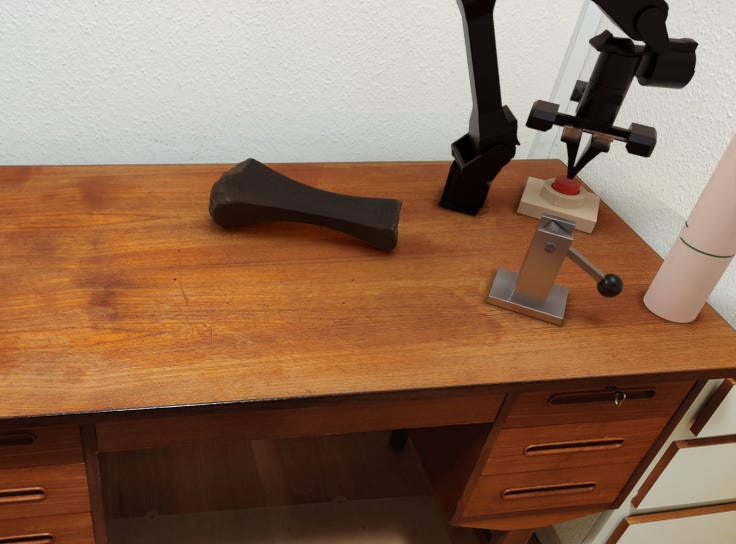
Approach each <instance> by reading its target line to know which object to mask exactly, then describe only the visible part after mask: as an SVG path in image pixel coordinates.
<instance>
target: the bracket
mask: <svg viewBox="0 0 736 544" xmlns="http://www.w3.org/2000/svg"><path fill="white" fill-rule="evenodd" d="M552 221H553V222H554V223H555V224H556V225H558V226H559V227H560V228H561V229H562V230H564V231H565V232H566V233H567V234H564V233H561V232H557V231H554V230H550V229H547V228H545V227H546V226H547V225H549V224H550V223H551V222H552ZM576 223H577V222H575V221H571V220H568V219H564V218H561V217H557V216H553V215H550V214H546V213H542V216H541V218H540V219H539V221H538V223H537V225H536V228H535V231H534V233H533V236H532V238H531V241H530V242H529V246H528V248H527V250H526V253H525V255H524V258H523V260H522V263H521V266H520V268H519V271H518V272H516V271H513V270H510V269H507V268H503V267H501V266H499V267H497V270H496V272H495V275H494V277H493V278H494V279H493V281H492V283H491V287H490V290H489V293H488V296H487V298H486V303H487V304H489V305H494V306H496V307H499V308H503V309H506V310H509V311H511V312H515V313H519V314H522V315H524V316H528V317H532V318H534V319H537V320H540V321H544V322H547V323H550V324H554V325H557V326H561V325H562V322H563V320H564V316H565V312H566V306H567V301H568V297H569V290H570V288H569V287H566V286H564V285H559V284H556V283H555V281H556V279H557V277H558V275H559V273H560V270H561V268H562V266H563V263H564V261H565V259H566V257H567V256H566V255H567V252H568V250H569V248H570V246H572V244H573V241H574V238H575V237H574V235H573V234H574V231H575V230H576V229H575V227H576Z"/></svg>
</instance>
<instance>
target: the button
mask: <svg viewBox="0 0 736 544" xmlns="http://www.w3.org/2000/svg"><path fill="white" fill-rule="evenodd" d="M555 178H556V179H555V182H554V184H553V187H552V188H553V189H554V190H555V191H557V192H559V193H561V194H565V195H572V196H575V195H577V193H578V191H579V188H580V186H582V182H581V180H580V179H578V178H576V177H574V178H573V179H572V180H571V179H567V174H559V175H557V176H556V177H555Z"/></svg>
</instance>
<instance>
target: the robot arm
mask: <svg viewBox="0 0 736 544" xmlns="http://www.w3.org/2000/svg"><path fill="white" fill-rule="evenodd" d="M590 1H591V2H593V3H594V4H595V5H596V7H597V8H598V10H600V11H601V13H602V14H603V15H604V16H605V17H606V18H607V19H608V20H609V21H610V23H612V24H613V25H614V26H615V27H616V28H617V29H618V30H620V31H622V33H623V34H625V35H626V36H627V37H622V36H614V33H612V32H611V31H610V30H609V29H604V30H603V31H602V32H600V33H599V34H597V35H595V36H593V37H591V38H590V39H589V40H588V44H589V45H590V46H591V47H592V48H593V49H595V51H596V52H599V54H598V56H597V60H596V61H595V64H594V67H593V68H592V71H591V74H590V76H589V79H588V81H585V80H580V79H577V80H576V82H575V84H574V87H573V89H572V92H571V94H570V97H569V101H571V102H574V103H577V105H576V108H575V112H574V113H575V114H574V115H571V114H568V113H563V112H560V111H559V110H560V107H561V104H559V103H555V102H550V101H547V100H542V99H537V100H535V101H534V102H533V103H532V106H531V109H530V111H529V114H528V117H527V119H526V122H525V125H524V126H525V127H527V128H528V129H531V130H535V131H539V132H543V133H546V132H547V131H550V130H551V129H553V126H557V127H562V128H563V129H562V132H561V136H560V139H559V140H560V142H561V143H565V144H566V153H567V169H566V175H567V179H571V180H572V179H573V178H576V176H577V175H578V174H579V173H580V172H581V171H582V170H583V169H584V168H585V167H586V166H587V165H588V164H589V163H590V162H591V161H593V160H594V159H595V158H596V157H597V156H599V155H600V154H601V153H605V154H608V153H609V152H610V150H611V144H613V143H614V141H617V142H620V143H625V146H624V148H625V150H626V151H627V154H629V155H634V156H636V157H637V156H638V157H642V158H645V159H646V158H647V159H648V158H651V156H652V154H653V152H654V150H655V148H656V146H657V142H658V140H657V139H658V132H657V129H656V127H654V126H649V125H646V124H641V123H638V122H633V121H632V122H631V123H630V125H629V126H628V128H624V127H620V126H617V125H614V124H615V122H616V119H617V117H618V115H619V112H620V110H621V108H622V106H623V103H624V102H625V101H624V100H625V99H626V96H627V94H628V92H629V90H630V87H631V85H632V82H633V81H634V79H635V78H636V80H637V83H638V84H639V85H640V86H642V87H651V88H661V89H673V90H681V89H684V88H685V87H686V86H688V85H689V83H690V82H691V80H692V79H693V78H694V76H695V73H696V66H697V52H696V50H697V48H698V46H699V42H698V41H696V40H695V39H694V38H690V37H682V38H681V37H679V38H675V37H670V36H669V33H668V27H667V23H666V22H667V20H668V17H669V10H670V6H669V3H668V2H667V1H666V0H590ZM455 2H456V4H457V7H458V10H459V12H460V16H461V22H462V31H463V39H464V47H465V55H466V62H467V69H468V78H469V85H470V95H471V102H472V109H471V112H470V116H469V119H468V132H466V133H465V134H463V135H461V136H460V137H459V138H458V139H456V140H455V141H453V142H452V143H451V144H450V153H451V156H452V158H453V160H452V162H451V165H450V166H449V169H448V173H447V177H446V180H445V184H444V187H443V190H442V194H441V196H440V197H439V199H438V202H437V205H438V206H439V207H444V208H447V209H450V210H454V211H457V212H460V213H464V214H468V215H472V216H477V215H478V214H479V211H480V210H481V209H483V208H484V206H485V204H486V201H487V199H488V196H489V192H490V189H491V187H492V183H493V181H494V180H495V179H496V177H497V176H498V174H499V173H500V172H501V170H502V169H503V168H504V167H505V166H507V165H508V164H509V163H510V162H511V161H512V160H513V159H514V158H515V156H516V153H517V146H518V147H519V146H521V142H520V140H519V138H518V127H519V123H518V122H519V121H518V119H517V117H516V116H515V114H514V113H513V111H512V110H511V109H510V107H509V106H508V104H504V105H503V101H502V99H503V98H502V92H501V91H502V89H501V80H500V70H499V59H498V50H497V41H496V39H497V38H496V29H495V19H494V10H495V7H496V4H497V0H455ZM634 41H635V42H642V43H644V44H635V42H634ZM583 133H585V134H588V135H590V137H589V139H588V140H587V143H586V145H585V147H584V148H583V151H582V152H581V154H580V155H579V156H578V153H579V149H580V145H581V141H582V137H583ZM577 157H578V159H577ZM576 160H577V161H576Z"/></svg>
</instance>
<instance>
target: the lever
mask: <svg viewBox="0 0 736 544" xmlns="http://www.w3.org/2000/svg"><path fill="white" fill-rule="evenodd" d="M545 228H547V229H550V230H554V231H557V232H561V233H564V234H567V233H566V232H565V231H564V230H562V229H561V228H560V227H559V226H558V225H556V224H555V223H554V222H553V221H552V222H551V223H550V224H549V225H547V226H546V227H545ZM566 257H567V258H568V259H569V260H570V261H571V262H573V263H574V264H575V265H577V267H579V268H580V269H581V270H582V271H584V273H586V274H587V275H588V276H589V277H591V278H592V279H593V280H594V281H596V290H597V292H598V294H599V295H601V297H604V298H609V299H611V298H615V297H617V296H619V295H620V294H621V293H622V292H623V290H624V286H625V284H624V280H623V278H622V277H621V276H620V275H618V274H616V273H612V272H609V273H604V272H603V271H602V270H601V269H599V268H598V267H597V266H596V265H595V264H594V263H592V262H591V261H589V259H587V258H586V257H585V256H584V255H582V254H581V253H580V252H579V251H578V250H577V249H575V248H574V247H573V246H572V245H571V246H570V248H569V250H568V252H567V255H566Z"/></svg>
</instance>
